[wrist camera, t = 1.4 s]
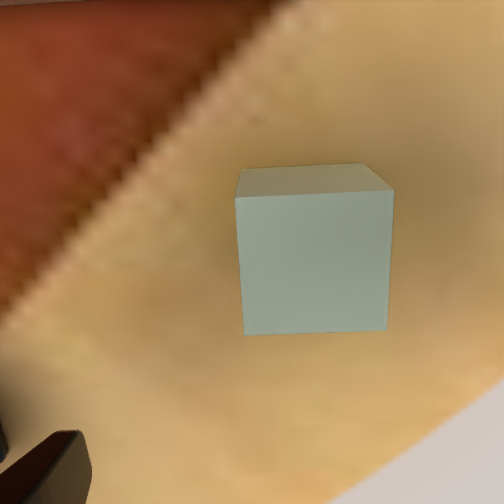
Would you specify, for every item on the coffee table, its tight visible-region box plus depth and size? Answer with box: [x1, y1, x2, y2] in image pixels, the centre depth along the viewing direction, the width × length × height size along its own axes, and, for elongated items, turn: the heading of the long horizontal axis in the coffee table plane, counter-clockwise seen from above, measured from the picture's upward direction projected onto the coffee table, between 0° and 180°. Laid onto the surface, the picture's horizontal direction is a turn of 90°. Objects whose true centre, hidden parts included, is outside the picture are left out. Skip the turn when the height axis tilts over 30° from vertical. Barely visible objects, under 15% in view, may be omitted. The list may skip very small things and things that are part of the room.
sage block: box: [235, 163, 395, 336], centre depth 18 cm, size 5×5×5 cm
